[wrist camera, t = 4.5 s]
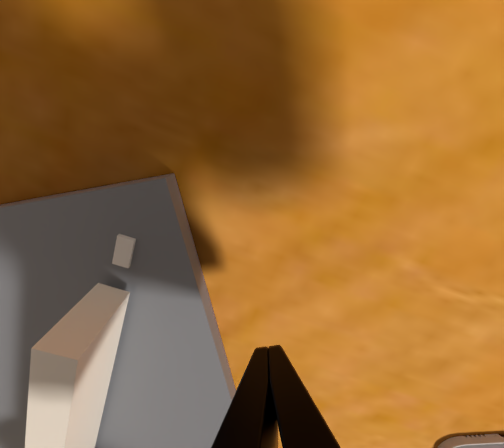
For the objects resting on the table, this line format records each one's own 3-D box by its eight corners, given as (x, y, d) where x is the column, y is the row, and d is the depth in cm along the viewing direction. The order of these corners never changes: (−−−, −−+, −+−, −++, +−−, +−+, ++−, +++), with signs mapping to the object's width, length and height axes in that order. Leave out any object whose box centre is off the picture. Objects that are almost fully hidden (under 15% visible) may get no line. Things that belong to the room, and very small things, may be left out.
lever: (102, 485, 14) (65, 574, 11) (47, 474, 14) (-5, 563, 11) (153, 299, 10) (111, 368, 7) (73, 275, 9) (-6, 338, 6)
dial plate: (253, 453, 15) (253, 478, 14) (-33, 481, 16) (-53, 506, 15) (173, 170, 9) (162, 175, 8) (-265, 249, 10) (-324, 263, 9)
